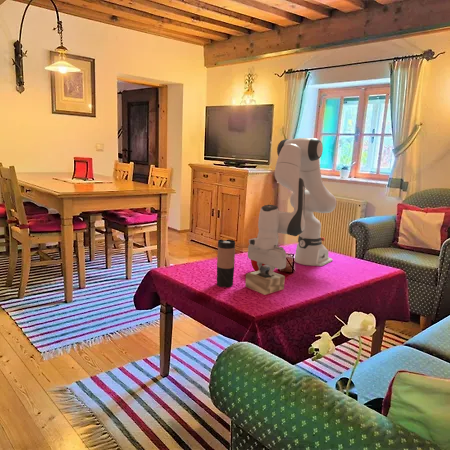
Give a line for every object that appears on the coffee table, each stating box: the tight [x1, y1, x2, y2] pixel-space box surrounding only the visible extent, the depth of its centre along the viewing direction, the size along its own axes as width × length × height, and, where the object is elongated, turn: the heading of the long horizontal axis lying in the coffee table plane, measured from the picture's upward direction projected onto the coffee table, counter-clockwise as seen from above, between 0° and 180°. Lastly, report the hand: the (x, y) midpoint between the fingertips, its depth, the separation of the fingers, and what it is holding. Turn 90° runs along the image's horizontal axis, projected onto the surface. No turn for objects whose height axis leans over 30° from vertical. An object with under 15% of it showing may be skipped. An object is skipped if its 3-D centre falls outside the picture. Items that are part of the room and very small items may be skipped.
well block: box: [245, 270, 286, 296], centre depth 177 cm, size 12×12×6 cm
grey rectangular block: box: [260, 265, 271, 278], centre depth 176 cm, size 4×3×10 cm
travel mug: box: [216, 238, 236, 288], centre depth 177 cm, size 8×8×20 cm
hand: (265, 273), depth 176 cm, fingers open, 4 cm apart
